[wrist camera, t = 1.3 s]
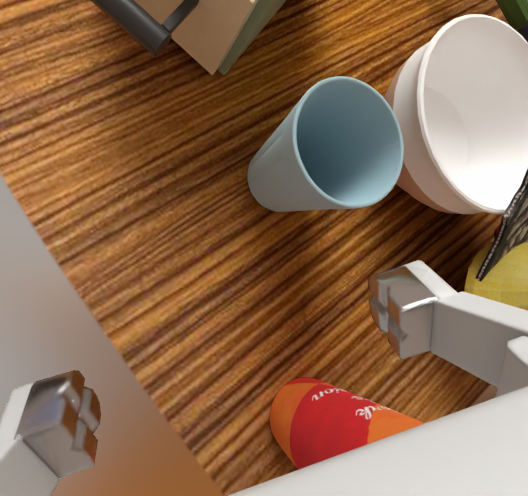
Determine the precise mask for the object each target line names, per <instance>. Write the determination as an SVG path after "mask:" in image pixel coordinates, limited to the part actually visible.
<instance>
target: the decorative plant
mask: <svg viewBox="0 0 528 496" xmlns="http://www.w3.org/2000/svg"><path fill="white" fill-rule="evenodd" d="M496 2H497V3H498V5H499V7H500V9H501V11H502V12H503V14H504V16H505V18H506V20H507V21H508V23H509V25H510V26H511V27H512V28H513V29H515V30H516V31H518V29H520V28H521V27H523V26H524V25H525V23H526V22H527V21H528V1H527V0H496Z"/></svg>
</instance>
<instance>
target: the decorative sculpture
mask: <svg viewBox="0 0 528 496" xmlns="http://www.w3.org/2000/svg"><path fill="white" fill-rule="evenodd" d="M525 242H527V243H528V169H527V171H526V173H525V176H524V178H523V181H522V184H521V186H520V188H519V189H518V190H517V192H516V193H515V194H514V196H513V198H512V200H511V202H510V204H509V205H508V207H507V209H506V210H505V212H504V213H503V215H502V219H501V224H500V226H499V229H498V232H497V234H496V237H495V240H494V242H493V244H492V246H491V248H490V250H489V251H488V253H487V255H486V257H485V259H484V261H483V263H482V265H481V267H480V269H479V271H478V273H477V276H476V279H477V280H479V281H480V282H481V281H482V280H483V279H484V278H485V276H486V275H487V274H488V273H489V272H490V270H491V269H492V268H493V267H494V266H495V265H496V264H497V263H498V262H499V261H500V260H501V259H502V258H503V257H504V256H505V255H506V254H507V253H509V252H510V251H511V250H512V249H514V248H515V247H517V246H518V245H520V244H522V243H525Z"/></svg>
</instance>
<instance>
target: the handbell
mask: <svg viewBox="0 0 528 496" xmlns="http://www.w3.org/2000/svg"><path fill="white" fill-rule="evenodd" d="M492 244H493V242H491V243H490V244H488V245H487V246H486V247H484V248H483V249H482V250H480V251H479V252H478V253H477V255H476V256H475V258H474V260H473V261H472V263H471V265H470V267H469V269H468V273H467V278H466V283H465V288H464V289H465V292H467V293H470V294H473V295H477V296H480V297H484V298H487V299H490V300H494V301H497V302H500V303H504V304H507V305H510V306H514V307H517V308H520V309H524V310H527V311H528V243H527V242H525V243H522V244H520V245H518V246H517V247H515V248H514V249H512V250H511V251H510V252H509V253H507V254H506V255H505V256H504V257H503V258H502V259H501V260H500V261H499V262H498V263H497V264H496V265H495V266H494V267H493V268H492V269H491V270H490V272H489V273H488V274H487V275H486V276H485V278H484V279H483V280H482V281H481V282H480V281H479V280H477V279H476V276H477V273H478V271H479V269H480V267H481V265H482V263H483V261H484V259H485V257H486V255H487V253H488V251H489V250H490V248H491V246H492Z"/></svg>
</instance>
